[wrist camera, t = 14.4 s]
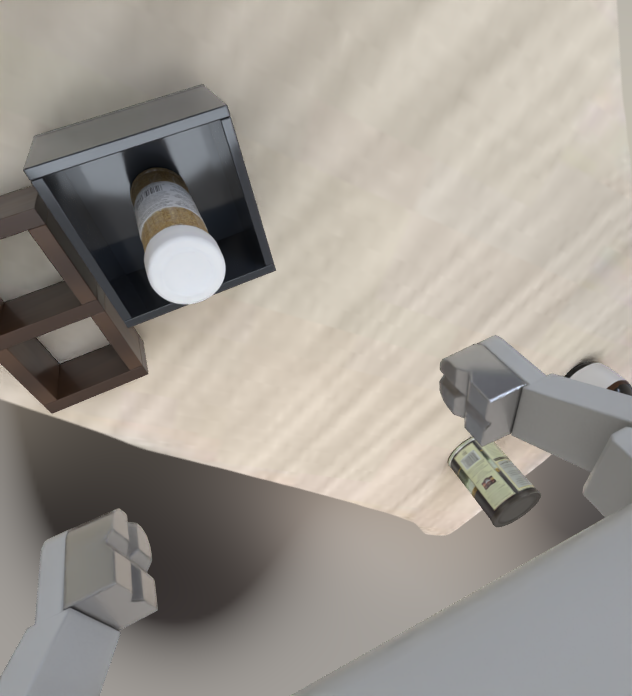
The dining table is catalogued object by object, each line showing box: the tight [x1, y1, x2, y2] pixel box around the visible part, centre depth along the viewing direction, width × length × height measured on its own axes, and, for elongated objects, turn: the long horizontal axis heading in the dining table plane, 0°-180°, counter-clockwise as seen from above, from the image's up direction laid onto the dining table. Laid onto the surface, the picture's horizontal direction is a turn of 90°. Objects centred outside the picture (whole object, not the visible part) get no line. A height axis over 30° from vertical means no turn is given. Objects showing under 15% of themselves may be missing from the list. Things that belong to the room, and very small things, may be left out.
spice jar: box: [130, 168, 226, 304], centre depth 30 cm, size 5×5×14 cm
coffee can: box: [448, 437, 541, 527], centre depth 83 cm, size 10×10×14 cm
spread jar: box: [565, 362, 632, 396], centre depth 83 cm, size 12×11×12 cm
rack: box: [0, 185, 148, 413], centre depth 35 cm, size 17×9×5 cm, turn 11°
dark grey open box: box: [23, 84, 276, 328], centre depth 32 cm, size 12×12×8 cm
